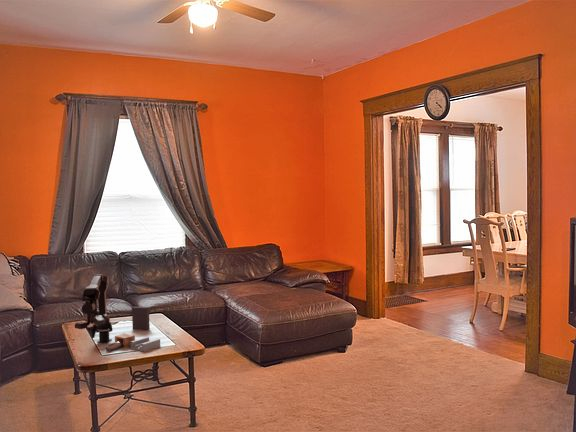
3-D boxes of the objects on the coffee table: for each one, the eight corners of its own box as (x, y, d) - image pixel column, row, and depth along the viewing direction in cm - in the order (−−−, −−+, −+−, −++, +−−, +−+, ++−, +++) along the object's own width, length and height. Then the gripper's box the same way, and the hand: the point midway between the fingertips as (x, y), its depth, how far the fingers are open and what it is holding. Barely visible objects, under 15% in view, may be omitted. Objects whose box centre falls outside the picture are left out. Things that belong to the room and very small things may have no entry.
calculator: (150, 329, 354) (149, 306, 353) (146, 330, 349) (146, 308, 349) (135, 328, 357) (134, 306, 356) (132, 330, 352) (131, 307, 352)
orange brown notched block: (125, 348, 309) (125, 338, 309) (115, 346, 314) (114, 336, 314) (135, 345, 315) (134, 335, 315) (124, 343, 320) (124, 333, 320)
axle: (109, 352, 303) (110, 345, 303) (105, 350, 305) (105, 343, 305) (132, 345, 317) (132, 339, 316) (127, 343, 319) (128, 337, 318)
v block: (144, 351, 302) (144, 344, 302) (131, 348, 308) (130, 341, 308) (160, 346, 312) (160, 339, 312) (147, 343, 318) (146, 336, 318)
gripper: (86, 315, 283) (87, 344, 284) (115, 308, 299) (116, 336, 300) (73, 312, 289) (74, 341, 290) (102, 306, 305) (103, 333, 306)
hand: (92, 338), depth 296 cm, fingers closed
